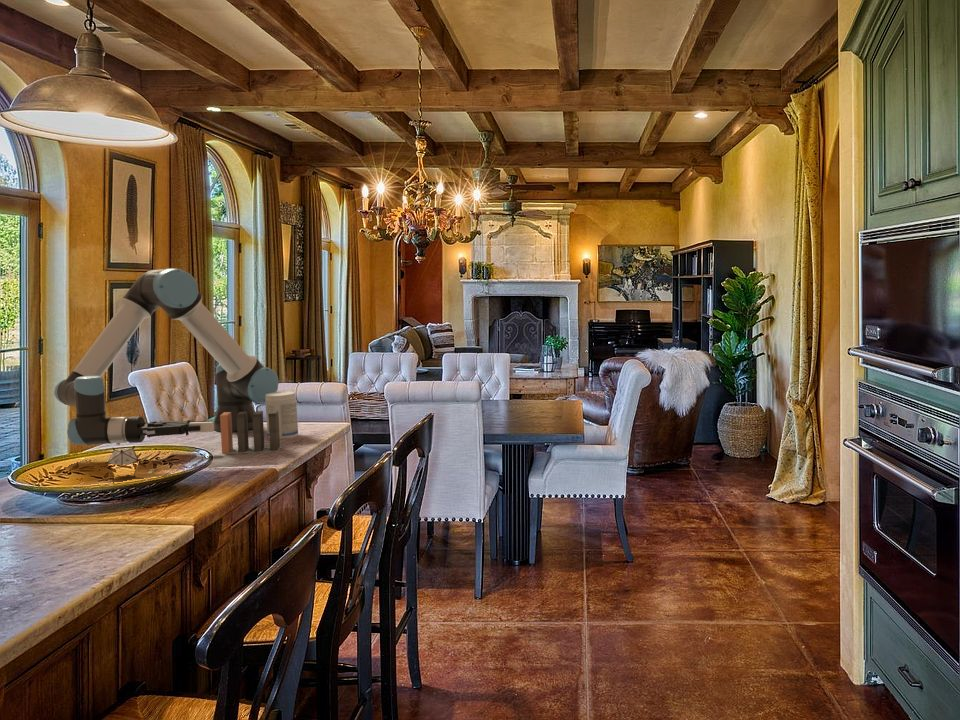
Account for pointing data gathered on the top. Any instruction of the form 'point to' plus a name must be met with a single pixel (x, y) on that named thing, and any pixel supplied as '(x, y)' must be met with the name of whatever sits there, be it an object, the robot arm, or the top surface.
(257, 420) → the domino
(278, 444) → the domino
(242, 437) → the domino
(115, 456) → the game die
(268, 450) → the runner board
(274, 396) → the supplement tub
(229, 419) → the domino
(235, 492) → the top surface
